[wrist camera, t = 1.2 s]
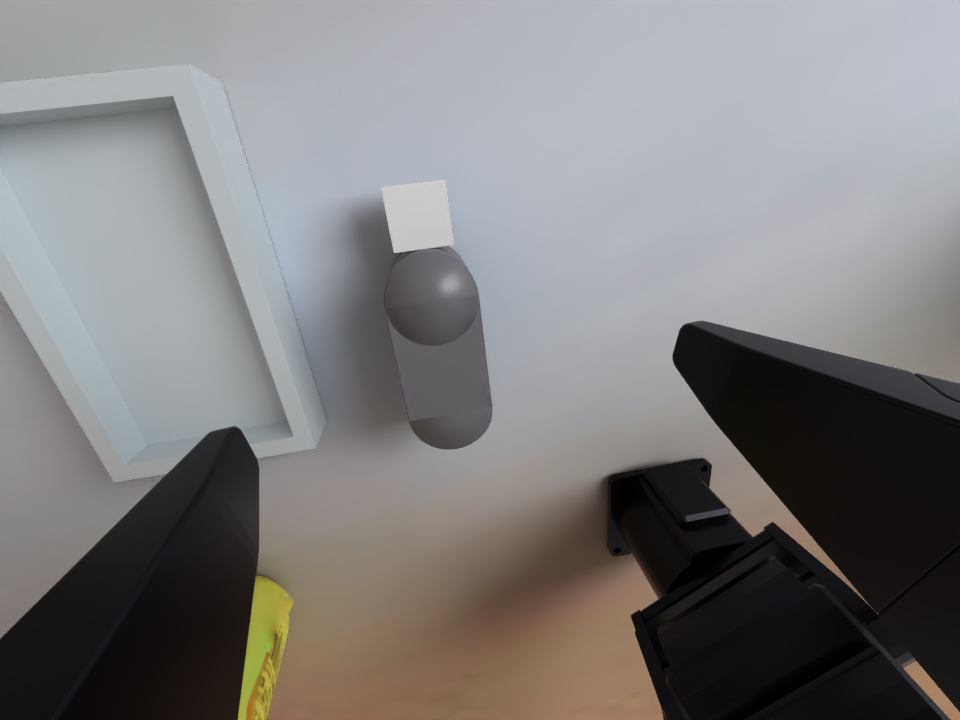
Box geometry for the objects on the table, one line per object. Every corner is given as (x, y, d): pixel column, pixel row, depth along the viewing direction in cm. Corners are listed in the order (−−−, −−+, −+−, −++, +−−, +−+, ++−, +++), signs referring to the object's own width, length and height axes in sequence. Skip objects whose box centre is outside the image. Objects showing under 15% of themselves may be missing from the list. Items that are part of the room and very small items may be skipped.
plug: (483, 400, 22) (496, 441, 18) (417, 411, 22) (416, 455, 18) (455, 179, 18) (464, 176, 14) (372, 189, 17) (359, 189, 14)
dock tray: (327, 421, 21) (316, 448, 19) (147, 451, 20) (114, 482, 18) (222, 82, 15) (188, 64, 13) (-36, 109, 15) (-117, 94, 12)
